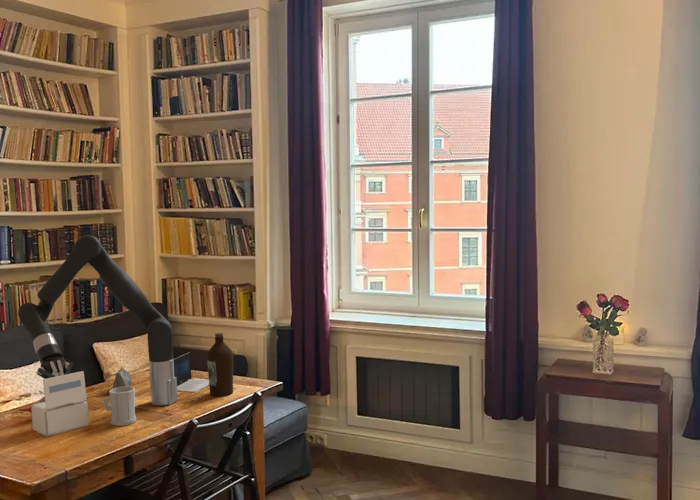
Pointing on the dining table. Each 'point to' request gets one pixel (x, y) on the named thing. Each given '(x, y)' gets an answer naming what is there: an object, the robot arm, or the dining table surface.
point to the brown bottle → (220, 368)
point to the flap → (64, 389)
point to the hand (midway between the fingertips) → (63, 388)
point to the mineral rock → (122, 379)
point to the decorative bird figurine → (32, 405)
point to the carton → (59, 417)
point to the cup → (121, 405)
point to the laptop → (186, 375)
